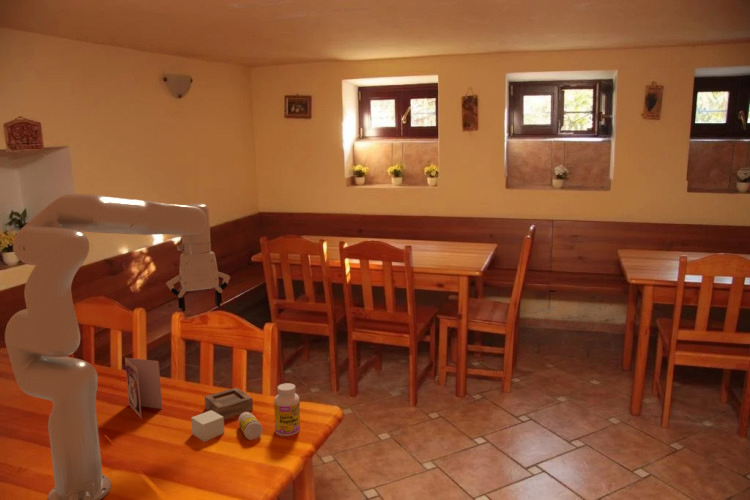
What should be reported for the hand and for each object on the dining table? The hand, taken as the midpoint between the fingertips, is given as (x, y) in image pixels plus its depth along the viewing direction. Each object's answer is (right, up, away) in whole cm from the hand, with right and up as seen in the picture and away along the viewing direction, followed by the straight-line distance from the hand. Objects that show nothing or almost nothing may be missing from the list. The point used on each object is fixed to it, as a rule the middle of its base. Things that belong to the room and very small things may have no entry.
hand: (200, 308), depth 168 cm
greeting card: (-18, -30, +5) cm, 35 cm away
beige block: (+5, -33, -10) cm, 35 cm away
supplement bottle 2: (+26, -32, -9) cm, 43 cm away
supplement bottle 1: (+18, -31, -14) cm, 38 cm away
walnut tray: (+7, -31, +3) cm, 31 cm away
